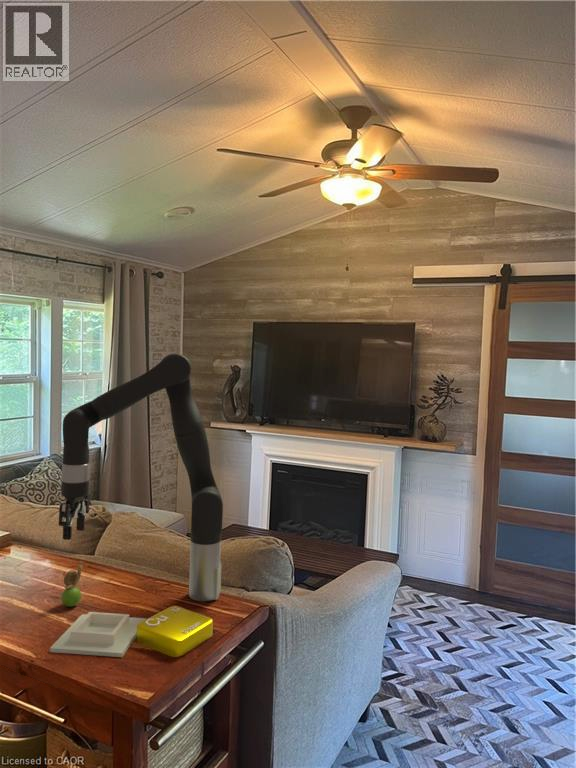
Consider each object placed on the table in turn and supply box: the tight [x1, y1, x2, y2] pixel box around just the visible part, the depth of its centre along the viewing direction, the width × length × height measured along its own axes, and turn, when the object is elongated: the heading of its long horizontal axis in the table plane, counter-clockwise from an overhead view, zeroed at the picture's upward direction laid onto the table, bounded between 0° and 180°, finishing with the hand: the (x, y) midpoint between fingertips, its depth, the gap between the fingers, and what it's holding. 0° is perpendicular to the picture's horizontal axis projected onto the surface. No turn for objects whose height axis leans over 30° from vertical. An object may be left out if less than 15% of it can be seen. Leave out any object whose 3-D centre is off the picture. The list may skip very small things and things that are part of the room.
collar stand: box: [49, 611, 147, 658], centre depth 141 cm, size 18×18×4 cm
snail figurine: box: [60, 560, 84, 608], centre depth 158 cm, size 5×6×12 cm
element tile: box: [135, 605, 214, 658], centre depth 142 cm, size 15×15×5 cm
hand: (74, 534), depth 157 cm, fingers open, 8 cm apart
